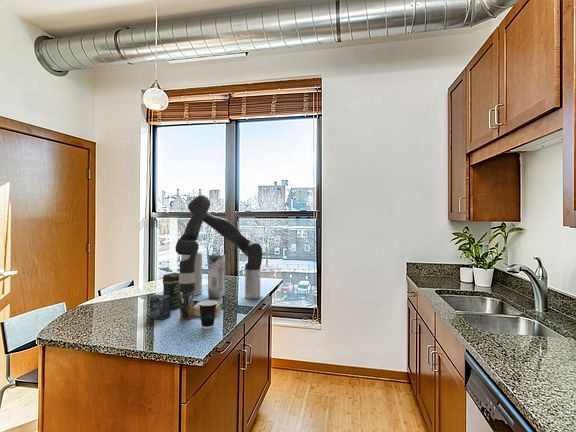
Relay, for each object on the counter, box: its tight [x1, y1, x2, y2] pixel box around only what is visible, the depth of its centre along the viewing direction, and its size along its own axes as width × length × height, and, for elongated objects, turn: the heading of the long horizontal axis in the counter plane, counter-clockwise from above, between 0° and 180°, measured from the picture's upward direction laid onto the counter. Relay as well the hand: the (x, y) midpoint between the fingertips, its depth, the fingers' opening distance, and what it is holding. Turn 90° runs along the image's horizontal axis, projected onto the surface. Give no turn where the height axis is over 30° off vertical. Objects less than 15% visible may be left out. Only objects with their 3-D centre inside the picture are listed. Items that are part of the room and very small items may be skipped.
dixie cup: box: [198, 299, 217, 330], centre depth 147 cm, size 8×8×11 cm
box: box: [149, 294, 171, 321], centre depth 159 cm, size 8×6×11 cm
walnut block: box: [179, 301, 194, 321], centre depth 159 cm, size 5×5×7 cm
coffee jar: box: [162, 272, 182, 311], centre depth 176 cm, size 10×8×19 cm
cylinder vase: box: [180, 252, 203, 297], centre depth 206 cm, size 12×12×25 cm
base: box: [193, 300, 223, 317], centre depth 168 cm, size 12×12×4 cm
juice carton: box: [207, 251, 226, 299], centre depth 200 cm, size 9×10×27 cm
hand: (186, 316), depth 159 cm, fingers closed on walnut block, 5 cm apart
